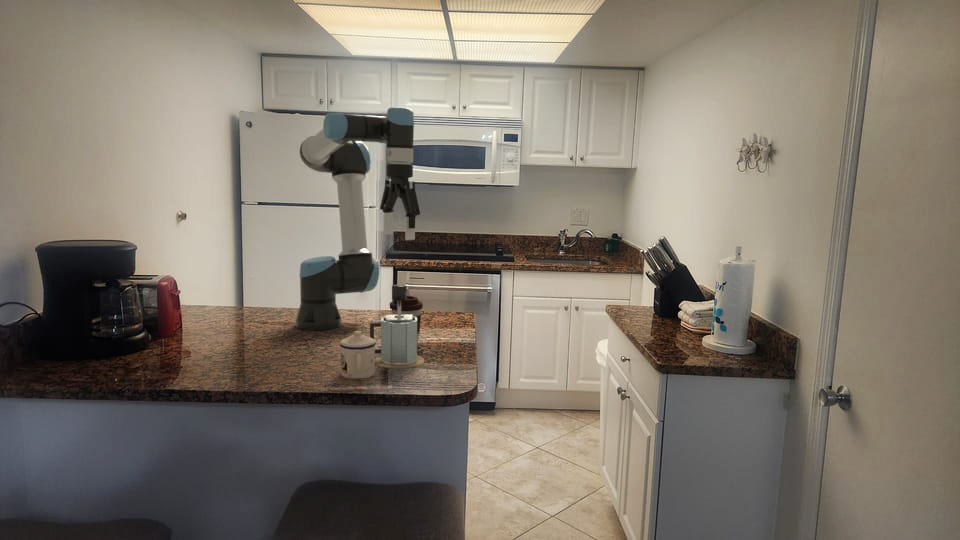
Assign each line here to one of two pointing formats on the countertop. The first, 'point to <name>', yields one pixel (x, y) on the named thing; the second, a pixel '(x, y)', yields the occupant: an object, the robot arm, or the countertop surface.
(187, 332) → the countertop surface
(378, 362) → the cork trivet
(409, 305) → the coffee cup
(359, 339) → the teacup with lid
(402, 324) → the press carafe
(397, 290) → the plunger
